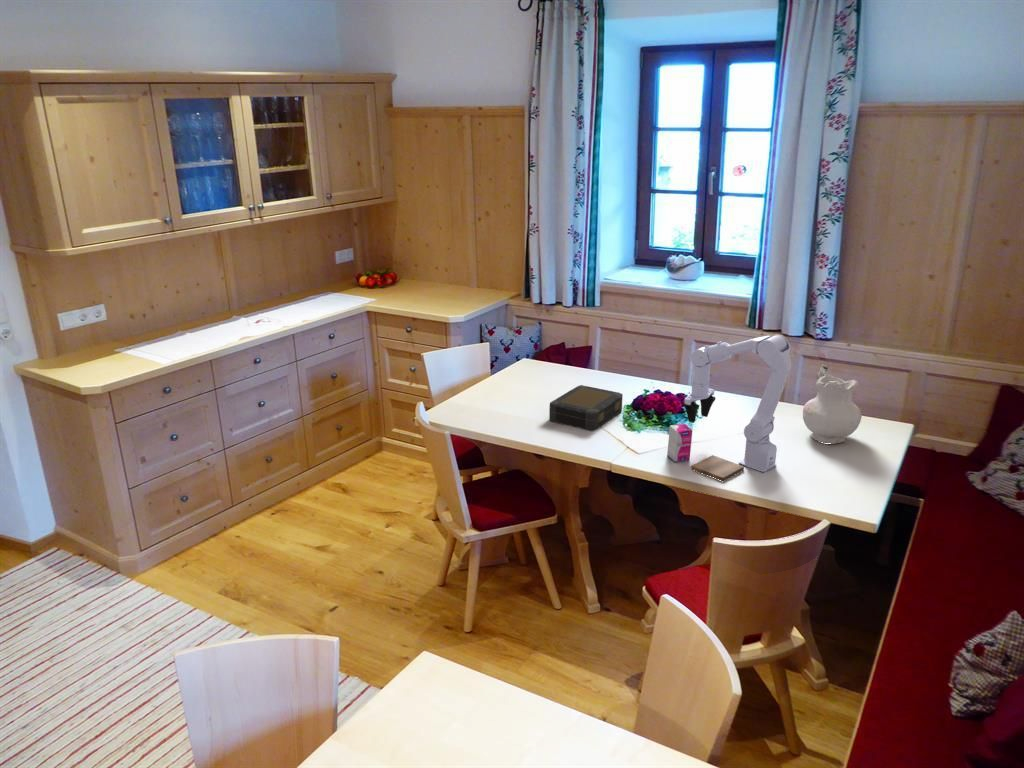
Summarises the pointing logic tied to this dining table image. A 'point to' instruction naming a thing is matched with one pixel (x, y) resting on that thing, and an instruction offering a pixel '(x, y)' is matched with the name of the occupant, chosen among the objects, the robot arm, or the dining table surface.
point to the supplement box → (679, 443)
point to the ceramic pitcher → (832, 409)
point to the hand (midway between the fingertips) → (698, 418)
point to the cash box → (585, 407)
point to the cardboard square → (717, 468)
